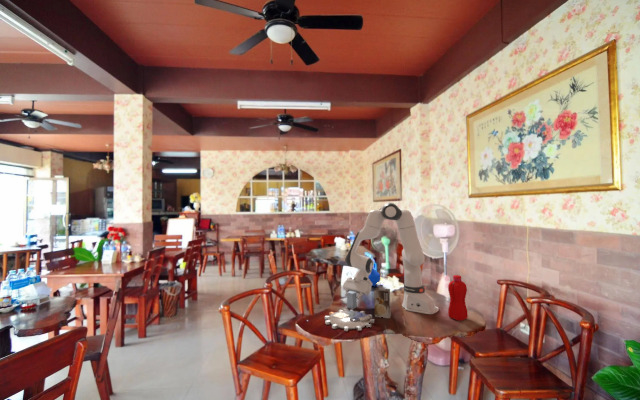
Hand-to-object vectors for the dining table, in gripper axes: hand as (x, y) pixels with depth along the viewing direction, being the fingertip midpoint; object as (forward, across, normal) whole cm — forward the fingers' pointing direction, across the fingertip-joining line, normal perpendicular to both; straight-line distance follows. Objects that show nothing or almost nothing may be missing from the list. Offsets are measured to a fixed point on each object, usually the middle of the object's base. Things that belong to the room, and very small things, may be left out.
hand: (351, 297), depth 200 cm
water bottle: (-13, +58, +22) cm, 64 cm away
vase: (-31, -20, +40) cm, 55 cm away
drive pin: (+5, 0, +4) cm, 7 cm away
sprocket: (+18, +12, -9) cm, 24 cm away
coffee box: (+5, +23, +4) cm, 24 cm away
